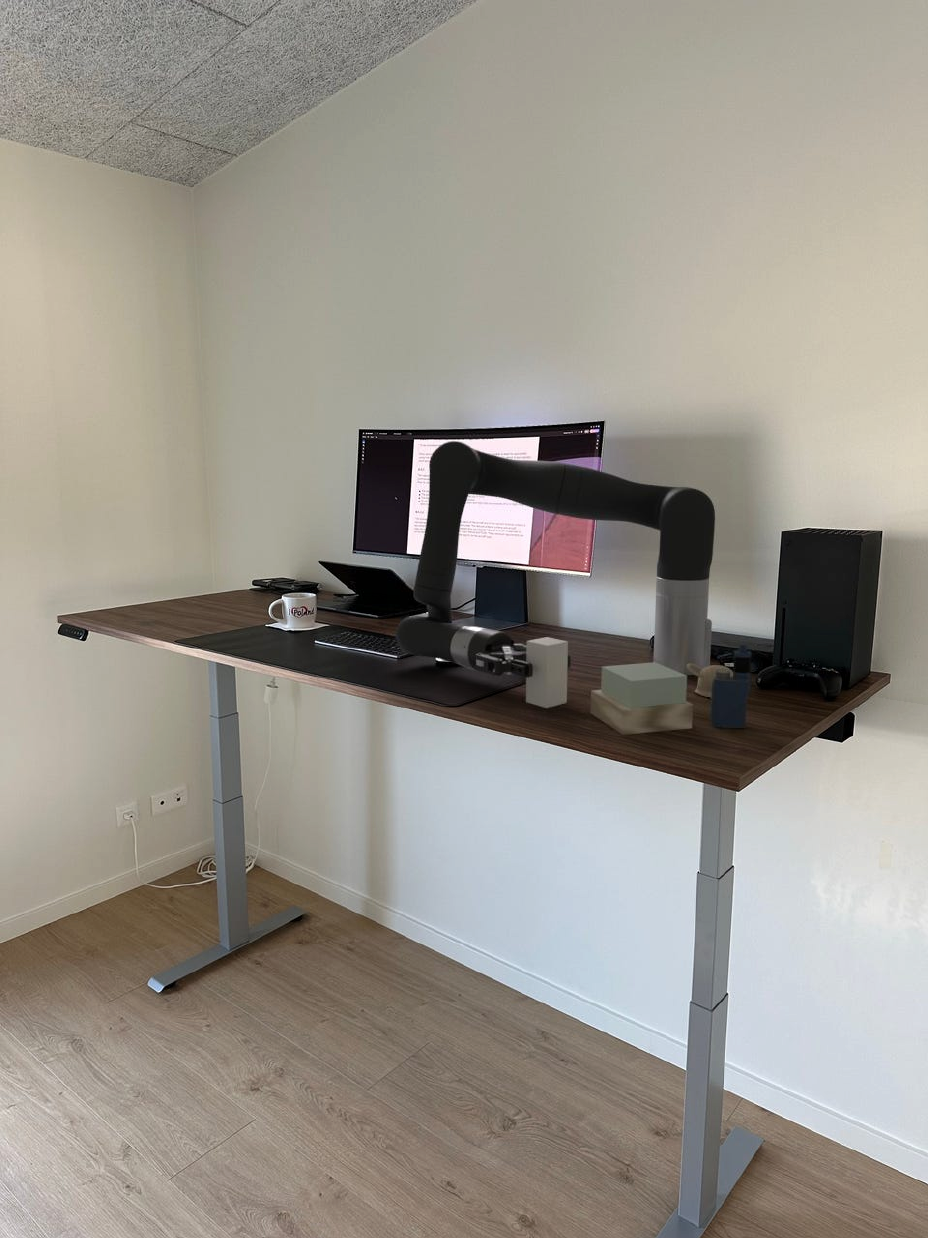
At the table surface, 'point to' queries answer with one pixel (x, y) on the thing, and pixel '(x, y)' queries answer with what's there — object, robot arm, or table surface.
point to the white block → (547, 672)
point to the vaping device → (731, 692)
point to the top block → (643, 685)
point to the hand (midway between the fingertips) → (550, 666)
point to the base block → (640, 715)
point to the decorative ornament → (706, 678)
